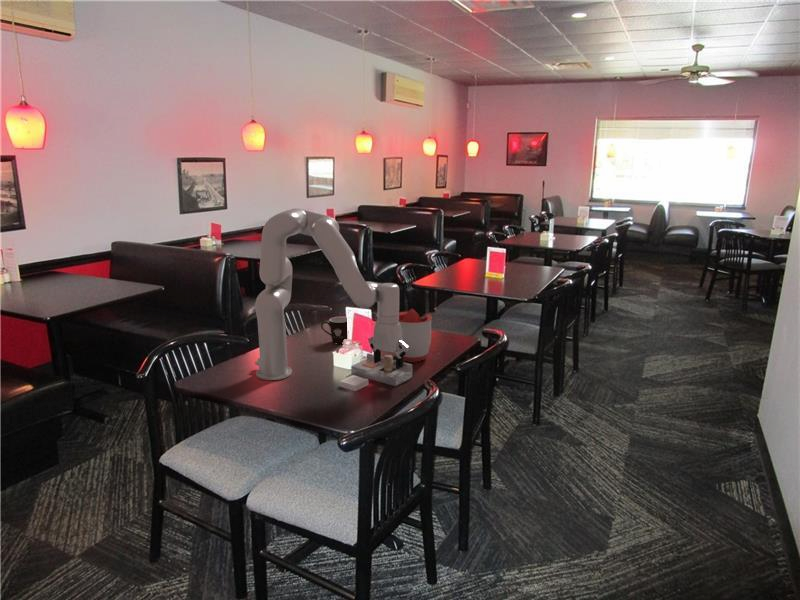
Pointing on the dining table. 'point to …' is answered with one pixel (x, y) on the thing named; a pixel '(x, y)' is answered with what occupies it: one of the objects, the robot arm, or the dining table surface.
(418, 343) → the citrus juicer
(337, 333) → the coffee mug
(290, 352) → the dining table surface
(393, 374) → the grey tray
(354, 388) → the white flat square block
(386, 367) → the peg
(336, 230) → the robot arm
